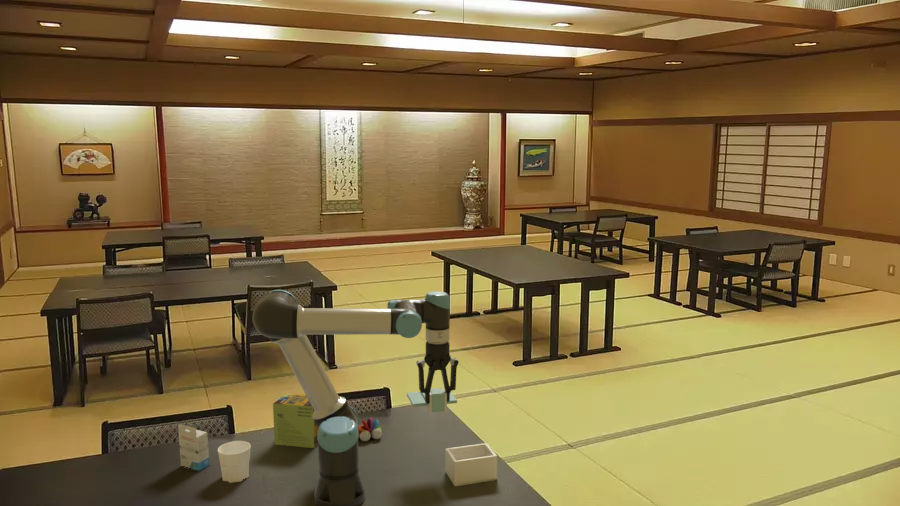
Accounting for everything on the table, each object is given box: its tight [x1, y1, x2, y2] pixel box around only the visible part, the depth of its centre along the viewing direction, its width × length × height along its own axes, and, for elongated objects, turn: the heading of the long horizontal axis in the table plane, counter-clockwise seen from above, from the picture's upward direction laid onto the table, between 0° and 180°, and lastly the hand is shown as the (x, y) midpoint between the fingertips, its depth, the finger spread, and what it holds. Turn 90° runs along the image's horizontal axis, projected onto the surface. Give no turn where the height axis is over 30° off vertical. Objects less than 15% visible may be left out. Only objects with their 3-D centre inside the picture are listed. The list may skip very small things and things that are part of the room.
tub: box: [445, 442, 498, 487], centre depth 218 cm, size 14×10×8 cm
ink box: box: [177, 423, 210, 472], centre depth 226 cm, size 9×5×15 cm, turn 62°
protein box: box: [272, 393, 318, 449], centre depth 245 cm, size 10×15×16 cm
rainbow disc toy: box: [358, 417, 383, 442], centre depth 249 cm, size 8×10×7 cm
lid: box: [406, 387, 458, 413], centre depth 224 cm, size 15×15×6 cm
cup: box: [217, 440, 252, 484], centre depth 219 cm, size 10×10×10 cm
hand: (437, 411), depth 219 cm, fingers closed on lid, 4 cm apart
